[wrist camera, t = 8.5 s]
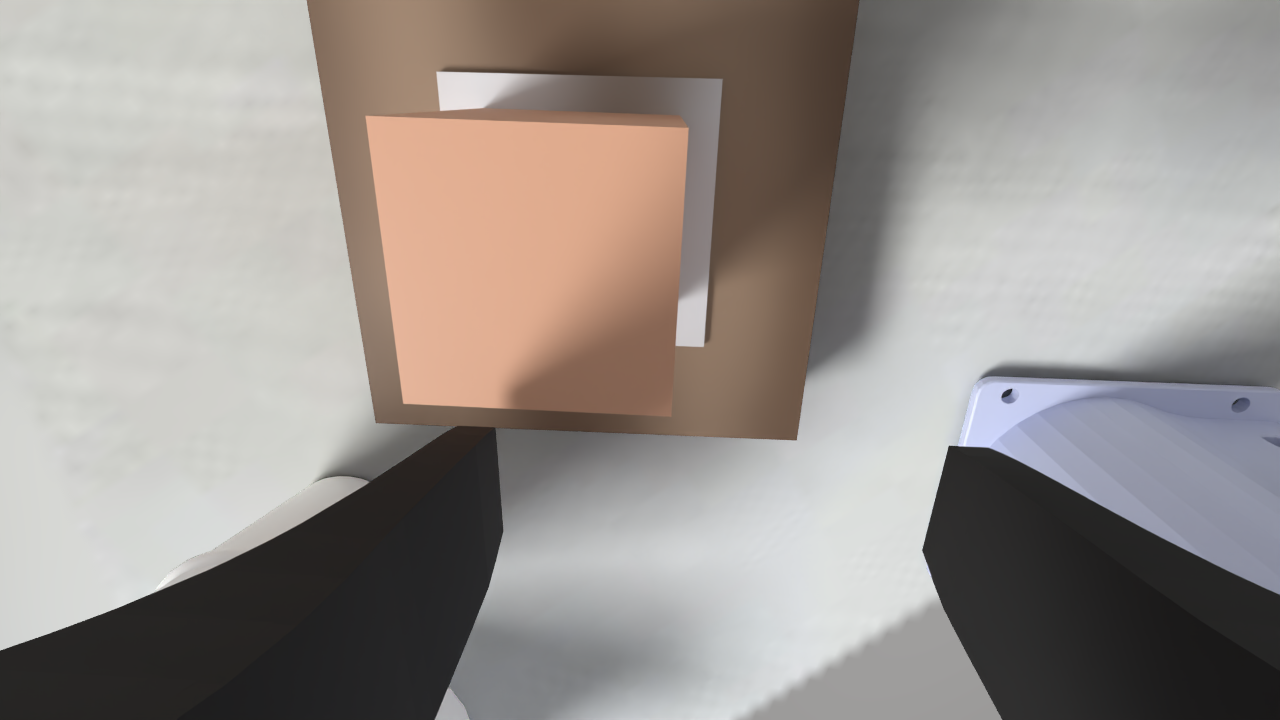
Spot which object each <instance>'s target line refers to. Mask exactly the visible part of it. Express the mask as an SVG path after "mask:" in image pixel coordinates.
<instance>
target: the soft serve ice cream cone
mask: <svg viewBox="0 0 1280 720" xmlns="http://www.w3.org/2000/svg"><path fill="white" fill-rule="evenodd" d="M368 483H369V481H366V480H364V479H361V478H355V477H350V476H336V477H330V478H325V479H322V480H319V481H316V482H314V483H313V484H311V485H310V486H308V487H307V488H305V489H304V490H302V491H301V492H299V493H298V494H296V495H295V496H293V497H292V498H290V499H289V500H287V501H286V502H284V503H283V504H281V505H280V506H278V507H277V508H275V509H274V510H272V511H271V512H269V513H268V514H266V515H265V516H263V517H262V518H260V519H259V520H257V521H256V522H254V523H253V524H251V525H249V526H248V527H246V528H245V529H243V530H242V531H240V532H239V533H237V534H236V535H234V536H233V537H231V538H230V539H228V540H227V541H225V542H224V543H222V544H221V545H219V546H218V547H216V548H215V549H213V550H212V551H209V552H206V553H204V554H201V555H198V556H195V557H193V558H191V559H188V560H187V561H185V562H184V563H182V564H181V565H179V566H178V567H176V568H174V569H173V570H172V571H171V572H170V573H169V574H168V575H167V576H166V577H165V578H164V579H163V581H162V582H161V583H160V584H159V585H158V587H157V588H156V590H155V592H157V591H160V590H162V589H164V588H167V587H169V586H171V585H174V584H176V583H178V582H181V581H183V580H186V579H188V578H190V577H193V576H195V575H197V574H200V573H202V572H205V571H207V570H209V569H211V568H213V567H216V566H218V565H220V564H222V563H224V562H226V561H228V560H230V559H232V558H234V557H236V556H238V555H241V554H243V553H245V552H247V551H249V550H251V549H253V548H255V547H257V546H259V545H261V544H263V543H265V542H267V541H269V540H271V539H273V538H275V537H276V536H278V535H280V534H282V533H284V532H286V531H288V530H290V529H291V528H293V527H295V526H297V525H299V524H301V523H302V522H304V521H306V520H308V519H309V518H311V517H313V516H314V515H316V514H318V513H319V512H321V511H323V510H324V509H326V508H328V507H329V506H331V505H333V504H334V503H336V502H338V501H340V500H341V499H343V498H345V497H346V496H348V495H350V494H351V493H353V492H355V491H356V490H358V489H360V488H361V487H363V486H365V485H366V484H368ZM155 592H154V593H155Z"/></svg>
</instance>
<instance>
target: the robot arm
mask: <svg viewBox="0 0 1280 720" xmlns="http://www.w3.org/2000/svg"><path fill="white" fill-rule="evenodd" d="M1007 389H1012V392H1011V394H1010V395H1009V396H1007V397H1005V398H1001V396H1002V394H1003V392H1004V391H1006V390H1007ZM1237 399H1239V400H1238V401H1237V403H1236V404H1234V405H1232V404H1233V403H1234V401H1236V400H1237ZM502 534H503V521H502V508H501V495H500V482H499V469H498V456H497V443H496V430H495V427H479V426H456V427H455V428H453V429H451V430H449V431H447V432H446V433H444V434H442V435H441V436H439V437H438V438H436V439H435V440H433V441H432V442H430V443H429V444H427V445H426V446H424V447H423V448H421V449H420V450H418V451H417V452H415V453H414V454H412V455H411V456H409V457H408V458H406V459H405V460H403V461H401V462H400V463H398V464H397V465H395V466H394V467H392V468H391V469H389V470H388V471H386V472H385V473H383V474H382V475H380V476H378V477H377V478H375V479H374V480H372V481H371V482H369V483H368V484H366V485H365V486H363V487H361V488H360V489H358V490H356V491H355V492H353V493H351V494H350V495H348V496H346V497H345V498H343V499H341V500H340V501H338V502H336V503H334V504H333V505H331V506H329V507H328V508H326V509H324V510H323V511H321V512H319V513H318V514H316V515H314V516H313V517H311V518H309V519H308V520H306V521H304V522H302V523H301V524H299V525H297V526H295V527H293V528H291V529H290V530H288V531H286V532H284V533H282V534H280V535H278V536H276V537H275V538H273V539H271V540H269V541H267V542H265V543H263V544H261V545H259V546H257V547H255V548H253V549H251V550H249V551H247V552H245V553H243V554H241V555H238V556H236V557H234V558H232V559H230V560H228V561H226V562H224V563H222V564H220V565H218V566H216V567H213V568H211V569H209V570H207V571H205V572H202V573H200V574H197V575H195V576H193V577H190V578H188V579H186V580H183V581H181V582H178V583H176V584H174V585H171V586H169V587H167V588H164V589H162V590H160V591H157V592H155V593H152V594H150V595H148V596H145V597H143V598H141V599H138V600H136V601H134V602H131V603H129V604H126V605H124V606H122V607H119V608H117V609H114V610H112V611H109V612H106V613H104V614H101V615H98V616H96V617H93V618H90V619H88V620H85V621H82V622H80V623H77V624H74V625H72V626H69V627H66V628H64V629H61V630H58V631H56V632H53V633H50V634H47V635H44V636H41V637H38V638H35V639H33V640H30V641H27V642H24V643H21V644H18V645H15V646H12V647H9V648H7V649H4V650H1V651H0V720H435V718H436V716H437V713H438V711H439V708H440V706H441V703H442V701H443V699H444V696H445V694H446V691H447V689H448V686H449V684H450V681H451V679H452V677H453V674H454V672H455V669H456V667H457V664H458V662H459V659H460V657H461V655H462V652H463V650H464V647H465V645H466V642H467V640H468V637H469V635H470V633H471V630H472V628H473V625H474V623H475V620H476V618H477V615H478V613H479V610H480V608H481V605H482V603H483V600H484V598H485V595H486V592H487V590H488V587H489V584H490V580H491V577H492V573H493V569H494V566H495V562H496V558H497V554H498V550H499V546H500V542H501V538H502ZM922 551H923V553H924V556H925V559H926V562H927V570H928V572H929V574H930V576H931V577H932V580H933V582H934V585H935V588H936V590H937V593H938V595H939V598H940V600H941V603H942V606H943V608H944V610H945V612H946V614H947V616H948V618H949V620H950V622H951V624H952V626H953V627H954V630H955V632H956V634H957V635H958V637H959V639H960V641H961V643H962V645H963V647H964V649H965V651H966V653H967V654H968V657H969V658H970V660H971V662H972V664H973V666H974V668H975V669H976V671H977V673H978V675H979V677H980V679H981V681H982V683H983V684H984V686H985V688H986V690H987V692H988V694H989V696H990V698H991V699H992V701H993V703H994V705H995V707H996V709H997V711H998V712H999V714H1000V716H1001V718H1002V720H1280V390H1279V389H1277V388H1273V387H1260V386H1234V385H1208V384H1182V383H1155V382H1129V381H1103V380H1076V379H1050V378H1024V377H998V376H991V377H985V378H983V379H981V380H979V381H978V382H977V383H976V384H975V386H974V388H973V390H972V393H971V397H970V401H969V405H968V409H967V413H966V416H965V420H964V424H963V428H962V432H961V435H960V439H959V443H958V446H949V448H948V452H947V455H946V459H945V463H944V467H943V471H942V475H941V479H940V483H939V487H938V491H937V495H936V499H935V502H934V506H933V510H932V514H931V518H930V522H929V526H928V530H927V534H926V538H925V542H924V546H923V549H922Z"/></svg>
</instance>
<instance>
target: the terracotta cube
mask: <svg viewBox="0 0 1280 720" xmlns="http://www.w3.org/2000/svg"><path fill="white" fill-rule="evenodd" d="M365 117H366V124H367V132H368V139H369V147H370V155H371V162H372V170H373V177H374V185H375V193H376V200H377V208H378V215H379V223H380V231H381V238H382V246H383V253H384V261H385V269H386V276H387V284H388V291H389V299H390V307H391V314H392V322H393V329H394V337H395V345H396V352H397V360H398V367H399V375H400V383H401V390H402V398H403V404H420V405H440V406H461V407H482V408H502V409H523V410H544V411H564V412H585V413H605V414H626V415H647V416H667V417H671V413H672V396H673V380H674V363H675V347H676V330H677V313H678V297H679V280H680V264H681V247H682V230H683V214H684V197H685V181H686V164H687V148H688V131H689V128H688V126H687V125H686V123H685V122H684V120H683V119H682V117H681V116H680V115H657V114H630V113H603V112H576V111H549V110H522V109H495V108H476V109H461V110H446V111H431V112H416V113H401V114H385V115H370V116H365Z"/></svg>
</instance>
